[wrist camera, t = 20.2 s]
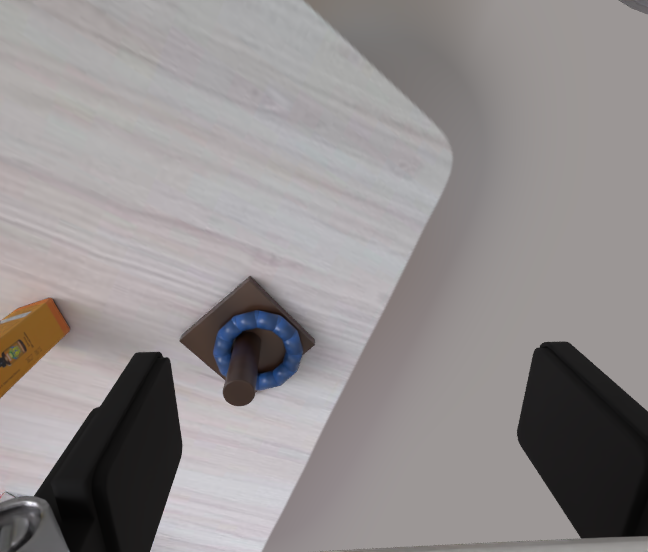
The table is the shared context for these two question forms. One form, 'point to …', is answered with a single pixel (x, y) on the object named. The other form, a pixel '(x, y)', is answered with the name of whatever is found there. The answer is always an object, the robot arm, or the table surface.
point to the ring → (268, 323)
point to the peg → (242, 341)
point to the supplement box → (28, 339)
